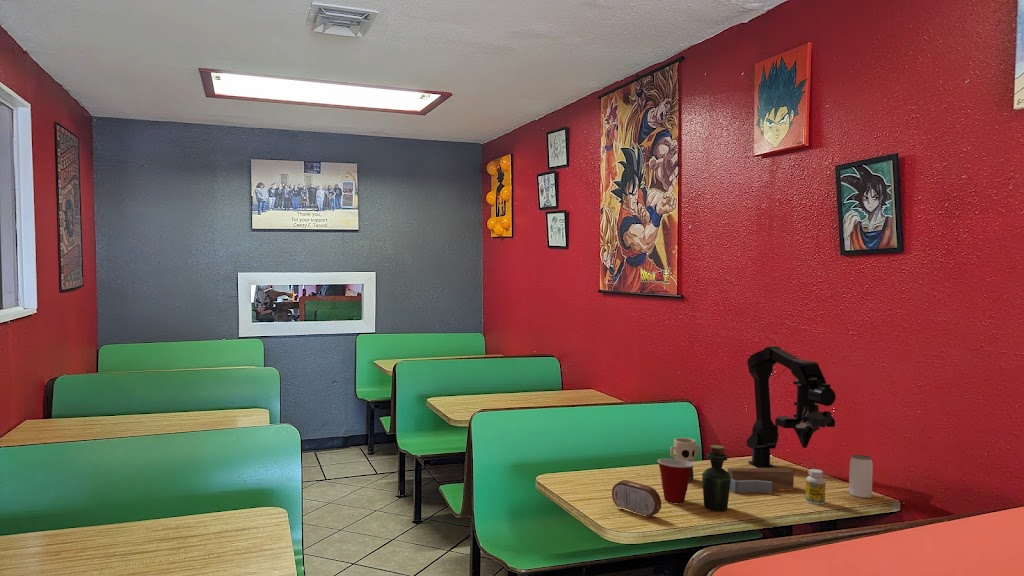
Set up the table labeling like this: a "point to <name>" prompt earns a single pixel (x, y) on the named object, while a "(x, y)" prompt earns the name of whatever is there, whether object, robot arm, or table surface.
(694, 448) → the character mug
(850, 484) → the can
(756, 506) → the table surface
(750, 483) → the grey stepped block
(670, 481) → the plastic cup
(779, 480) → the walnut slat
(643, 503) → the tin
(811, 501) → the supplement bottle
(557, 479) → the table surface
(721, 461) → the potion bottle
